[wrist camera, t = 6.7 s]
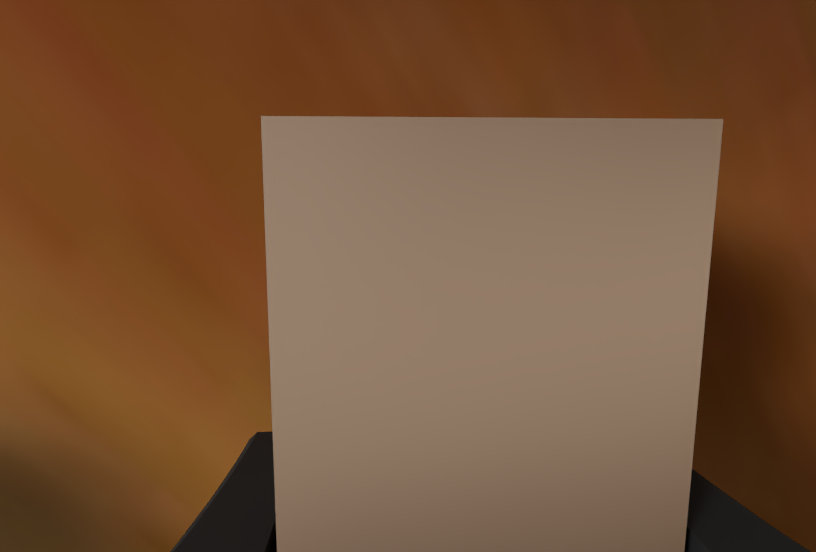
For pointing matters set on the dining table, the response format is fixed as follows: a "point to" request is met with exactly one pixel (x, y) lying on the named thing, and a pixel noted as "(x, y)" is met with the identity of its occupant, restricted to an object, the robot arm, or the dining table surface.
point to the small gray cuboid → (486, 330)
